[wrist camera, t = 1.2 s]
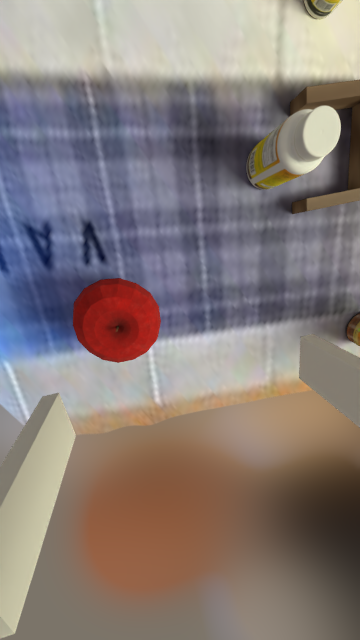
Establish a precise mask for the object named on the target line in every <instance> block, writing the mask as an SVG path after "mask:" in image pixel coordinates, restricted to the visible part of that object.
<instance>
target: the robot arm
mask: <svg viewBox="0 0 360 640" xmlns="http://www.w3.org/2000/svg"><path fill="white" fill-rule="evenodd" d="M299 378H300V379H301V380H302V381H303V382H305V383H306V384H307V385H308V386H309V387H311V388H312V389H313V390H314V391H316V392H317V393H318V394H319V395H321V396H322V397H323V398H324V399H325V400H327V401H328V402H329V403H330V404H332V405H333V406H334V407H335V408H336V409H338V410H339V411H340V412H341V413H343V414H344V415H345V416H346V417H348V418H349V419H350V420H351V421H352V422H354V423H355V424H356V425H358V426H359V427H360V358H359V357H357V356H355V355H353V354H351V353H349V352H347V351H345V350H343V349H341V348H339V347H337V346H335V345H333V344H331V343H329V342H327V341H326V340H324V339H322V338H320V337H318V336H316V335H314V334H311V335H307V336H302V337H301V338H300V368H299ZM75 436H76V435H75V432H74V430H73V427H72V425H71V422H70V419H69V417H68V414H67V412H66V409H65V407H64V404H63V402H62V399H61V397H60V394H59V393H56V394H52V395H47V396H43V397H42V398H41V400H40V402H39V403H38V405H37V407H36V408H35V410H34V412H33V413H32V415H31V417H30V418H29V420H28V421H27V423H26V425H25V426H24V428H23V430H22V431H21V433H20V435H19V436H18V438H17V440H16V441H15V443H14V445H13V446H12V448H11V450H10V451H9V453H8V455H7V456H6V458H5V460H4V461H3V463H2V464H1V466H0V639H1V638H3V637H6V636H9V635H12V634H14V633H15V631H16V628H17V624H18V621H19V618H20V615H21V611H22V608H23V605H24V602H25V599H26V595H27V592H28V588H29V586H30V582H31V579H32V576H33V572H34V569H35V566H36V563H37V560H38V556H39V553H40V550H41V546H42V543H43V540H44V537H45V534H46V530H47V527H48V524H49V521H50V517H51V514H52V511H53V508H54V504H55V501H56V498H57V495H58V491H59V488H60V485H61V482H62V479H63V475H64V472H65V469H66V466H67V462H68V459H69V456H70V452H71V449H72V446H73V443H74V440H75Z"/></svg>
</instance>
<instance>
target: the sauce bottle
mask: <svg viewBox="0 0 360 640" xmlns="http://www.w3.org/2000/svg"><path fill="white" fill-rule="evenodd" d="M347 336H348V338H349V340H350V341H352V342H354V343H356V344H357V345H358V346H360V313H359V314H357V315H356V316H354V317H353V319H352V320H351V321H350V322H349V324H348V326H347Z"/></svg>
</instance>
